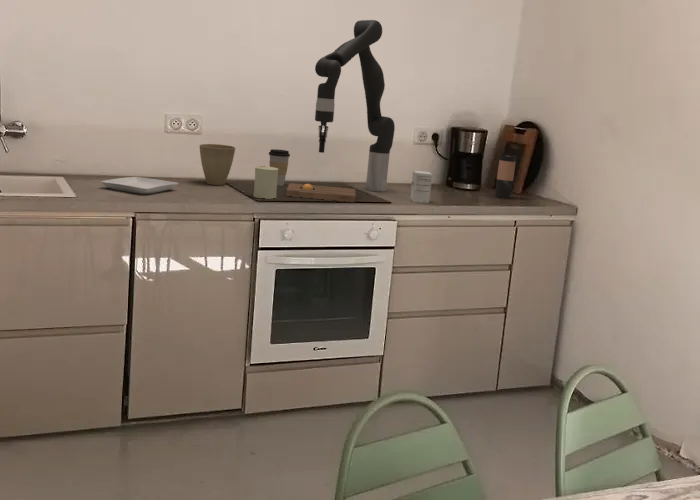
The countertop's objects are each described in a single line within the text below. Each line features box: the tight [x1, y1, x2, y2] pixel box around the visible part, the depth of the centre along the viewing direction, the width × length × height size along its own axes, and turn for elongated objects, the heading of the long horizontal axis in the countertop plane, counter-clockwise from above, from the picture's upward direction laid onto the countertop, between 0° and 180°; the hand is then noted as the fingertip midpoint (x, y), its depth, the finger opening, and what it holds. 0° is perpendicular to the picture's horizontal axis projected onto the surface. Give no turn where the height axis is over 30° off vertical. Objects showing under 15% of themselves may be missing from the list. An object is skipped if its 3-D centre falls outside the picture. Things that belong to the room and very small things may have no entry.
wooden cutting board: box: [285, 183, 357, 203], centre depth 331 cm, size 20×28×2 cm
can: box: [252, 165, 278, 200], centre depth 314 cm, size 9×9×12 cm
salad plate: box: [101, 176, 179, 195], centre depth 305 cm, size 21×21×3 cm
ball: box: [302, 183, 313, 190], centre depth 331 cm, size 4×4×4 cm
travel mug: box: [494, 153, 517, 199], centre depth 375 cm, size 8×8×20 cm
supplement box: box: [409, 170, 433, 204], centre depth 340 cm, size 7×7×13 cm
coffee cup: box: [268, 148, 291, 187], centre depth 349 cm, size 9×9×15 cm
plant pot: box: [199, 143, 236, 186], centre depth 334 cm, size 15×15×16 cm
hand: (321, 152), depth 328 cm, fingers closed
